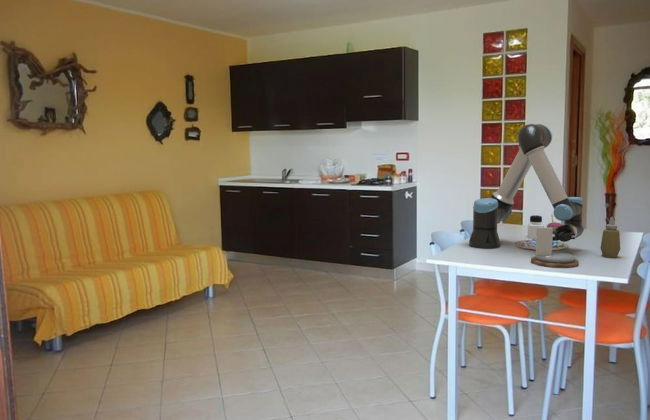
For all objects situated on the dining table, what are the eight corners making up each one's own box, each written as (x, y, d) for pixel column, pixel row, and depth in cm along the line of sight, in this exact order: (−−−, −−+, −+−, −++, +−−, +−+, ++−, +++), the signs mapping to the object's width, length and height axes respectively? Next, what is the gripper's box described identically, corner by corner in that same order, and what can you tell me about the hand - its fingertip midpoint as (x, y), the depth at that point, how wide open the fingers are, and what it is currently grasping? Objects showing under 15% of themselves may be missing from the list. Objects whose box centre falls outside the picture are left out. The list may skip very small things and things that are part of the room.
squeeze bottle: (597, 256, 252) (599, 217, 250) (603, 253, 258) (605, 215, 255) (616, 259, 246) (618, 218, 244) (622, 256, 252) (624, 217, 250)
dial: (540, 262, 232) (541, 230, 230) (530, 254, 248) (531, 224, 246) (580, 263, 230) (581, 231, 228) (568, 255, 246) (569, 225, 244)
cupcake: (547, 235, 307) (548, 214, 306) (545, 233, 315) (546, 212, 314) (564, 236, 305) (565, 214, 304) (561, 233, 313) (562, 212, 312)
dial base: (523, 263, 238) (523, 259, 238) (540, 256, 252) (540, 252, 252) (569, 270, 226) (569, 265, 226) (584, 262, 240) (585, 258, 240)
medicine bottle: (543, 238, 298) (544, 216, 297) (529, 238, 300) (530, 216, 298) (541, 236, 305) (541, 214, 304) (527, 236, 307) (528, 214, 305)
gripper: (580, 242, 253) (563, 250, 236) (551, 239, 262) (532, 246, 244) (581, 226, 252) (564, 232, 235) (552, 223, 261) (533, 229, 243)
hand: (548, 239), depth 239 cm, fingers closed
